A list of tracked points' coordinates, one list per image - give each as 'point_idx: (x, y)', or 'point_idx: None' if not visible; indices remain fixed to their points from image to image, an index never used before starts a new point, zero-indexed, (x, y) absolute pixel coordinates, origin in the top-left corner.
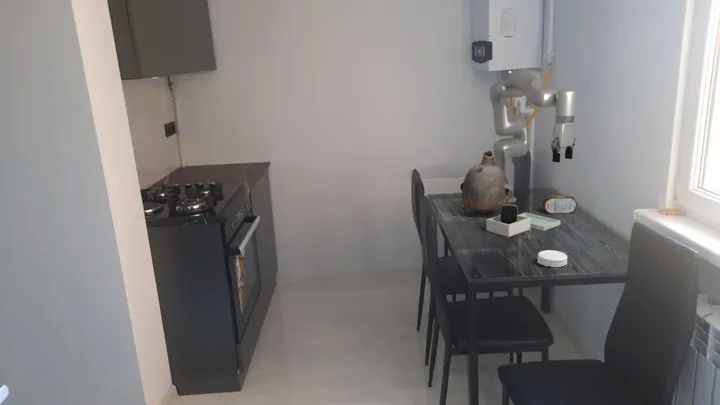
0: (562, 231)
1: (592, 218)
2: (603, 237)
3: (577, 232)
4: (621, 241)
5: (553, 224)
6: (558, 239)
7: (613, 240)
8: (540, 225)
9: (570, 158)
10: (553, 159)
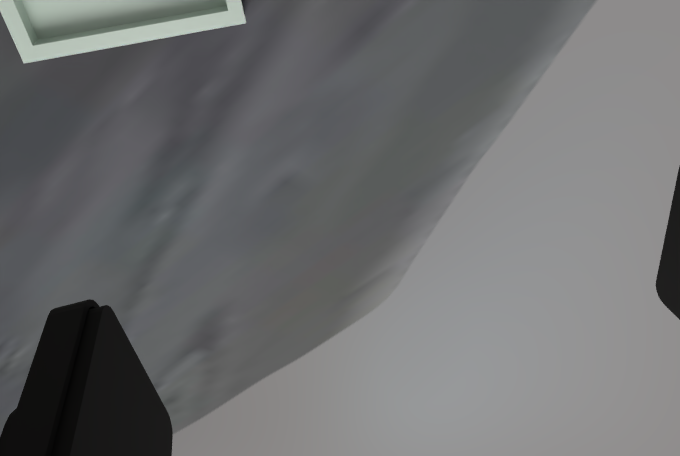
0: (147, 130)
1: (529, 39)
2: (269, 295)
3: (217, 187)
4: (291, 356)
5: (152, 37)
6: (18, 222)
7: (272, 337)
8: (13, 25)
9: (663, 287)
10: (12, 416)
